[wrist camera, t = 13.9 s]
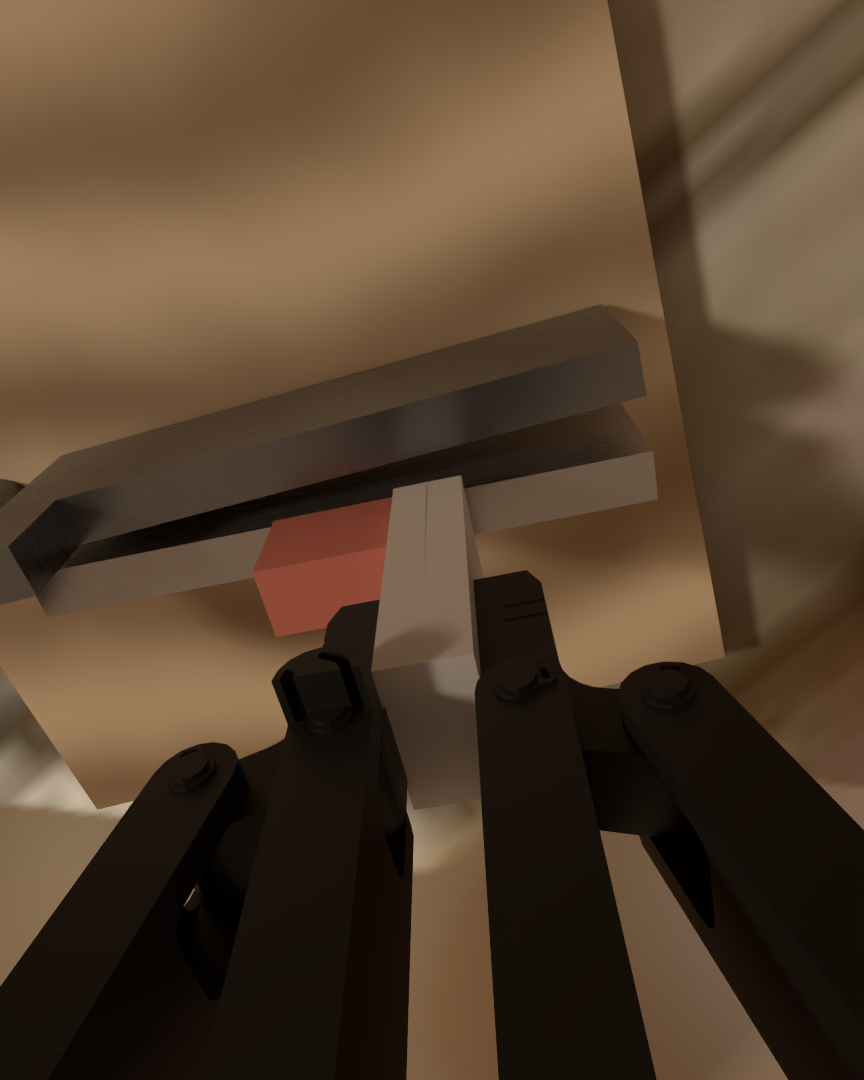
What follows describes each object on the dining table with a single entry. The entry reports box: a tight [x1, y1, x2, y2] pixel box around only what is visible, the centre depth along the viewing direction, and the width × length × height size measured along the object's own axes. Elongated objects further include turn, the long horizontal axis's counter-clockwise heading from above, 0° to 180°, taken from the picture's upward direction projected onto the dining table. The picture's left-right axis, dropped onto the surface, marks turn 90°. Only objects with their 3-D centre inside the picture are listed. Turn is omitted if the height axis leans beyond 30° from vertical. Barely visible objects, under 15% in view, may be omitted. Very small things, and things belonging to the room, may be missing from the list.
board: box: [0, 0, 725, 809], centre depth 22 cm, size 26×22×1 cm
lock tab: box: [252, 497, 392, 637], centre depth 18 cm, size 3×2×2 cm, turn 102°
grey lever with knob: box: [0, 304, 647, 605], centre depth 19 cm, size 20×5×6 cm, turn 106°
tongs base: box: [0, 403, 658, 617], centre depth 20 cm, size 19×3×5 cm, turn 102°
